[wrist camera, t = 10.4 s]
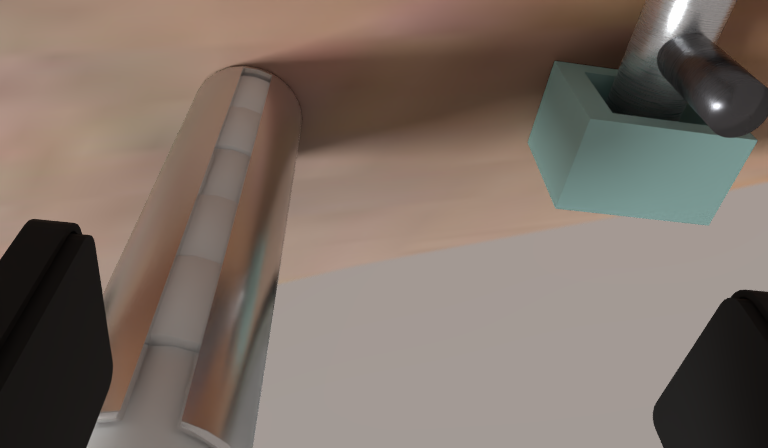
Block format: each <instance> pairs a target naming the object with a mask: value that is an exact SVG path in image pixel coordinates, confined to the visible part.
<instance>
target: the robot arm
mask: <svg viewBox="0 0 768 448" xmlns="http://www.w3.org/2000/svg"><path fill="white" fill-rule="evenodd" d="M112 375H113V360H112V353H111V347H110V340H109V334H108V327H107V320H106V314H105V307H104V300H103V294H102V287H101V281H100V274H99V267H98V261H97V254H96V248H95V242H94V239H93V237H92V236H90V235H82V233H81V229H80V227H79V226H78V224H76V223H69V222H59V221H49V220H39V219H32V220H29V221H28V222H27V223H26V224H25V225H24V226H23V228H22V229H21V231H20V232H19V234H18V235H17V236H16V238H15V239H14V241H13V242H12V244H11V245H10V246H9V248H8V249H7V251H6V252H5V254H4V255H3V257H2V258H1V259H0V448H87V445H88V442H89V440H90V437H91V435H92V432H93V430H94V427H95V424H96V422H97V419H98V417H99V414H100V411H101V409H102V406H103V404H104V401H105V399H106V396H107V393H108V391H109V388H110V385H111V380H112ZM653 421H654V426H655V429H656V431H657V434H658V436H659V438H660V440H661V443H662V445H663V447H664V448H768V292H763V291H753V290H739V291H737V292H735V293H734V294H733V295H732V296H731V298H727V299H726V300H724V301H723V302H722V303H721V304H720V306H719V307H718V309H717V310H716V312H715V314H714V315H713V317H712V318H711V320H710V321H709V323H708V324H707V326H706V327H705V329H704V330H703V332H702V333H701V335H700V336H699V338H698V340H697V341H696V343H695V344H694V346H693V347H692V349H691V350H690V352H689V353H688V355H687V356H686V358H685V360H684V361H683V363H682V364H681V366H680V367H679V369H678V370H677V372H676V373H675V375H674V376H673V378H672V379H671V381H670V382H669V384H668V386H667V387H666V389H665V390H664V392H663V393H662V395H661V396H660V398H659V399H658V401H657V403H656V405H655V406H654V411H653Z"/></svg>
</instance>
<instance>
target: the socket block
mask: <svg viewBox="0 0 768 448" xmlns="http://www.w3.org/2000/svg"><path fill="white" fill-rule="evenodd" d="M617 72H618V70H617V69H610V68H603V67H595V66H588V65H581V64H574V63H567V62H560V61H554V64H553V67H552V70H551V73H550V76H549V79H548V82H547V85H546V88H545V91H544V94H543V97H542V100H541V103H540V107H539V110H538V113H537V116H536V119H535V122H534V125H533V128H532V131H531V134H530V137H529V140H528V144H529V147H530V149H531V152H532V154H533V156H534V159H535V161H536V163H537V166H538V168H539V171H540V173H541V175H542V178H543V180H544V182H545V185H546V187H547V189H548V192H549V194H550V197H551V199H552V201H553V204H554V206H555V208H556V209H565V210H574V211H583V212H592V213H601V214H610V215H619V216H628V217H637V218H646V219H655V220H664V221H673V222H682V223H691V224H700V225H709V224H710V222H711V221H712V219H713V217H714V215H715V213H716V212H717V210H718V208H719V207H720V205H721V203H722V201H723V200H724V198H725V196H726V194H727V193H728V191H729V189H730V188H731V186H732V184H733V182H734V181H735V179H736V177H737V175H738V174H739V172H740V170H741V169H742V167H743V165H744V163H745V162H746V160H747V158H748V156H749V155H750V153H751V151H752V149H753V148H754V146H755V144H756V143H757V141H758V140H757V139H756V138H755V137H754V136H753V135H752V134H751V133H748V134H746V135H743V136H740V137H735V138H725V137H721V136H719V135H717V134H716V133H714V131H713V130H712V129H711V128H710V127H709V126H708V125H707V124H706V123H705V122H704V121H703V119H702V118H701V117H700V116H699V115H698V114H697V113H696V112H695V111H694V110H693V108H692V107H691V106H690V105H689V104H688V103H687V105H686V107H685V109H684V111H683V113H682V115H681V117H680V120H679V122H676V121H669V120H661V119H653V118H646V117H638V116H630V115H623V114H615V113H612V112H611V110H610V109H609V107H608V106H607V104H606V103H605V102H606V99H607V97H608V94H609V92H610V89H611V87H612V84H613V82H614V79H615V77H616V74H617Z"/></svg>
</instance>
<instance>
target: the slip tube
mask: <svg viewBox="0 0 768 448" xmlns="http://www.w3.org/2000/svg"><path fill="white" fill-rule="evenodd" d="M736 1H737V0H646V1H645V4H644V6H643V9H642V11H641V14H640V16H639V19H638V21H637V24H636V26H635V29H634V31H633V34H632V36H631V39H630V42H629V44H628V47H627V49H626V52H625V54H624V57H623V59H622V62H621V64H620V67H619V69H618V72H617V74H616V77H615V79H614V82H613V84H612V87H611V89H610V92H609V94H608V97H607V99H606V102H605V103H606V104H607V106H608V107H609V109H610V110H611V112H612V113H615V114H623V115H630V116H638V117H646V118H653V119H661V120H669V121H676V122H679V120H680V117H681V115H682V113H683V111H684V109H685V107H686V105H687V103H688V104H689V105H690V106H691V107H692V108H693V110H694V111H695V112H696V113H697V114H698V115H699V116H700V117H701V118H702V119H703V121H704V122H705V123H706V124H707V125H708V126H709V127H710V128H711V129H712V130H713V131H714V133H716V134H717V135H719V136H721V137H725V138H735V137H740V136H743V135H746V134H748V133H750V132H752V131H753V130H755V129H756V128H758V127H759V126H760V125H761V124H762V123H763V122H764V121H765V119H766V118H767V117H768V88H767V87H765V86H764V85H763V84H762V83H761V82H759V81H758V80H757V79H756V78H755V77H754V76H752V75H751V74H750V73H749V72H748V71H746V70H745V69H744V68H743V67H742V66H740V65H739V64H738V63H737V62H736V61H735V60H733V59H732V58H731V57H730V56H729V55H727V54H726V53H725V52H724V51H723V50H722V49H720V48H719V47H718V46H717V45H716V43H717V41H718V39H719V37H720V35H721V32H722V30H723V28H724V26H725V24H726V22H727V20H728V18H729V16H730V14H731V12H732V10H733V8H734V6H735V3H736Z"/></svg>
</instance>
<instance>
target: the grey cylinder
mask: <svg viewBox="0 0 768 448" xmlns="http://www.w3.org/2000/svg"><path fill="white" fill-rule="evenodd" d="M301 124H302V114H301V109H300V105H299V103H298V101H297V98H296V96H295V94H294V93H293V91H292V90H291V89H290V88H289V87H288V86H287V84H286V83H285V82H284V81H282V80H281V79H279V78H278V77H277V76H275V75H274V74H272V73H270V72H267V71H265V70H263V69H260V68H256V67H249V66H236V67H228V68H226V69H223V70H220V71H218V72H216V73H214V74H213V75H212V76H210V77H209V78H208V79H206V80H205V81H204V83H203V84H202V86H201V87H200V88H199V90H198V91H197V94H196V96H195V98H194V100H193V102H192V104H191V106H190V109H189V111H188V113H187V115H186V117H185V119H184V121H183V124H182V126H181V128H180V130H179V132H178V134H177V136H176V139H175V141H174V143H173V145H172V147H171V149H170V151H169V154H168V156H167V158H166V160H165V162H164V164H163V166H162V169H161V171H160V173H159V175H158V177H157V179H156V182H155V184H154V186H153V188H152V190H151V192H150V194H149V197H148V199H147V201H146V203H145V205H144V207H143V209H142V212H141V214H140V216H139V218H138V220H137V222H136V224H135V227H134V229H133V231H132V233H131V235H130V237H129V239H128V242H127V244H126V246H125V248H124V250H123V252H122V254H121V257H120V259H119V261H118V263H117V265H116V267H115V269H114V272H113V274H112V276H111V278H110V280H109V282H108V284H107V287H106V289H105V291H104V293H103V300H104V307H105V314H106V320H107V327H108V334H109V340H110V347H111V353H112V360H113V375H112V380H111V385H110V388H109V391H108V393H107V396H106V399H105V401H104V404H103V406H102V409H101V411H100V414H99V417H98V419H97V422H96V424H95V427H94V430H93V432H92V435H91V437H90V440H89V442H88V445H87V448H253V442H254V435H255V429H256V422H257V416H258V409H259V403H260V396H261V389H262V383H263V376H264V370H265V363H266V356H267V350H268V343H269V337H270V330H271V323H272V316H273V310H274V304H275V297H276V290H277V284H278V277H279V271H280V264H281V258H282V251H283V244H284V238H285V231H286V225H287V218H288V211H289V205H290V198H291V192H292V185H293V179H294V172H295V165H296V159H297V152H298V146H299V139H300V132H301Z"/></svg>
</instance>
